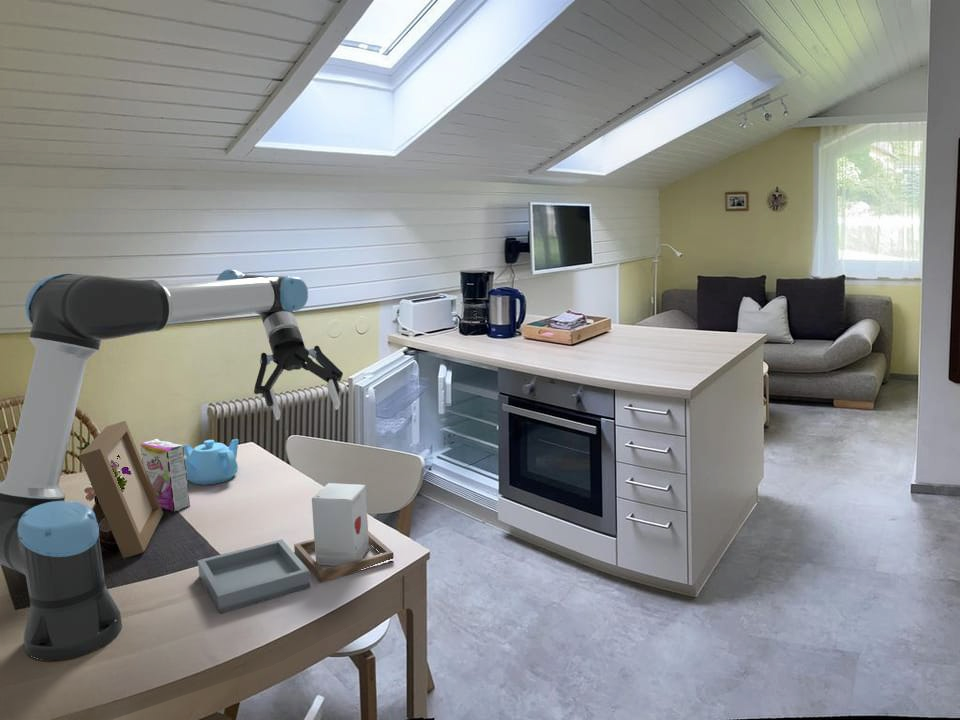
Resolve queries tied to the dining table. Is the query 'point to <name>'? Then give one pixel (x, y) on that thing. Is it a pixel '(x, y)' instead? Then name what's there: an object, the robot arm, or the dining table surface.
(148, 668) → the dining table surface
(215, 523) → the dining table surface
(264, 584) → the grey tray
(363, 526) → the supplement box
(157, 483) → the candy bar box
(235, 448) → the teapot
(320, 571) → the walnut collar
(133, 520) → the photo frame
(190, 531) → the dining table surface
